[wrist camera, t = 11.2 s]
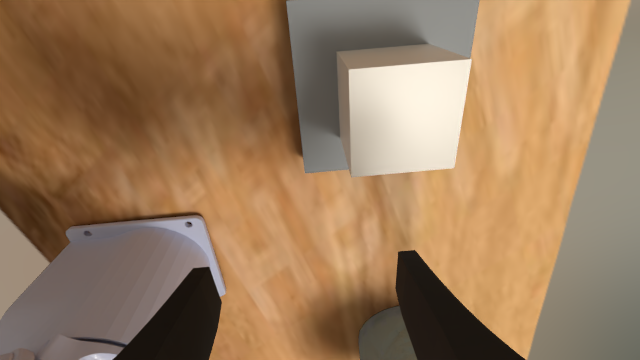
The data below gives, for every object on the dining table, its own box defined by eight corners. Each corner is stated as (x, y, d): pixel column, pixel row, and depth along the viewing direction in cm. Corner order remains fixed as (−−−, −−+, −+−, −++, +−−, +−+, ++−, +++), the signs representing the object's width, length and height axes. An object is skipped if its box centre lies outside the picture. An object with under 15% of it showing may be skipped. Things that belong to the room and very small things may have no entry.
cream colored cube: (340, 138, 18) (351, 177, 14) (336, 51, 16) (348, 69, 12) (420, 131, 18) (454, 168, 14) (428, 43, 16) (471, 58, 12)
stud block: (304, 158, 21) (305, 191, 17) (287, 0, 16) (284, 1, 13) (441, 146, 21) (469, 176, 17) (462, -14, 16) (506, -18, 13)
